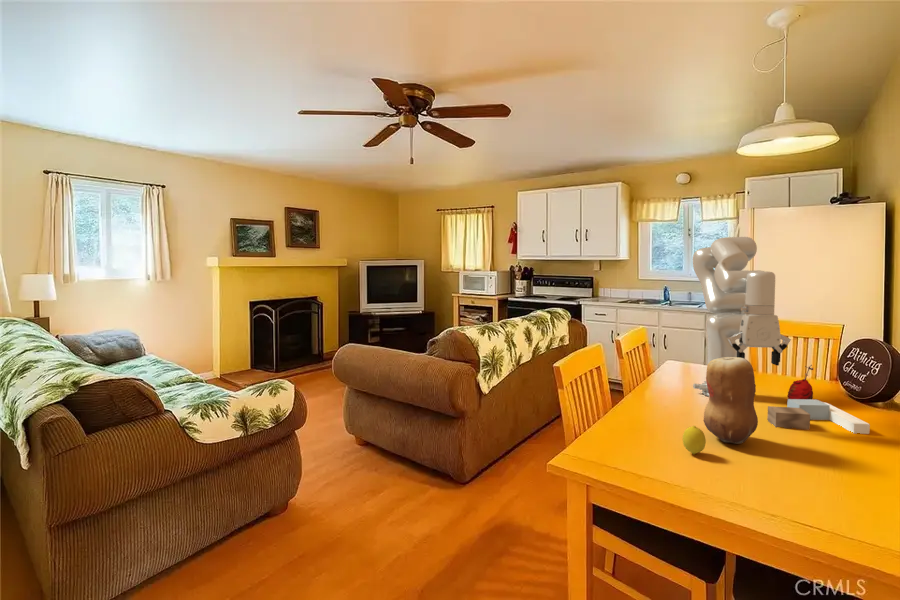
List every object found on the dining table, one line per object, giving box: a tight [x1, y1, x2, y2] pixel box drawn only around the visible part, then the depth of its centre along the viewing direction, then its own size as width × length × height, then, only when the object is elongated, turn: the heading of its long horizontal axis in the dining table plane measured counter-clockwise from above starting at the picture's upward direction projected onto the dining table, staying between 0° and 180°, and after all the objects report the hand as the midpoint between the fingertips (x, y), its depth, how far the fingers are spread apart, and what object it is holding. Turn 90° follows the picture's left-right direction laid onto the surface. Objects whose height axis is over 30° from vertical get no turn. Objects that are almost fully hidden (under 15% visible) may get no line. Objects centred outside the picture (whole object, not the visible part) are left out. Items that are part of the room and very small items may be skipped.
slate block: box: [786, 398, 831, 421], centre depth 146 cm, size 9×6×5 cm, turn 83°
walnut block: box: [766, 405, 811, 431], centre depth 139 cm, size 9×6×5 cm, turn 74°
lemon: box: [682, 425, 707, 455], centre depth 120 cm, size 6×6×8 cm
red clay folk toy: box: [786, 364, 814, 400], centre depth 157 cm, size 8×7×15 cm
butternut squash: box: [702, 357, 759, 445], centre depth 127 cm, size 14×13×25 cm
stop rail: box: [822, 401, 871, 435], centre depth 141 cm, size 4×20×3 cm, turn 169°
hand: (757, 364), depth 139 cm, fingers open, 9 cm apart
